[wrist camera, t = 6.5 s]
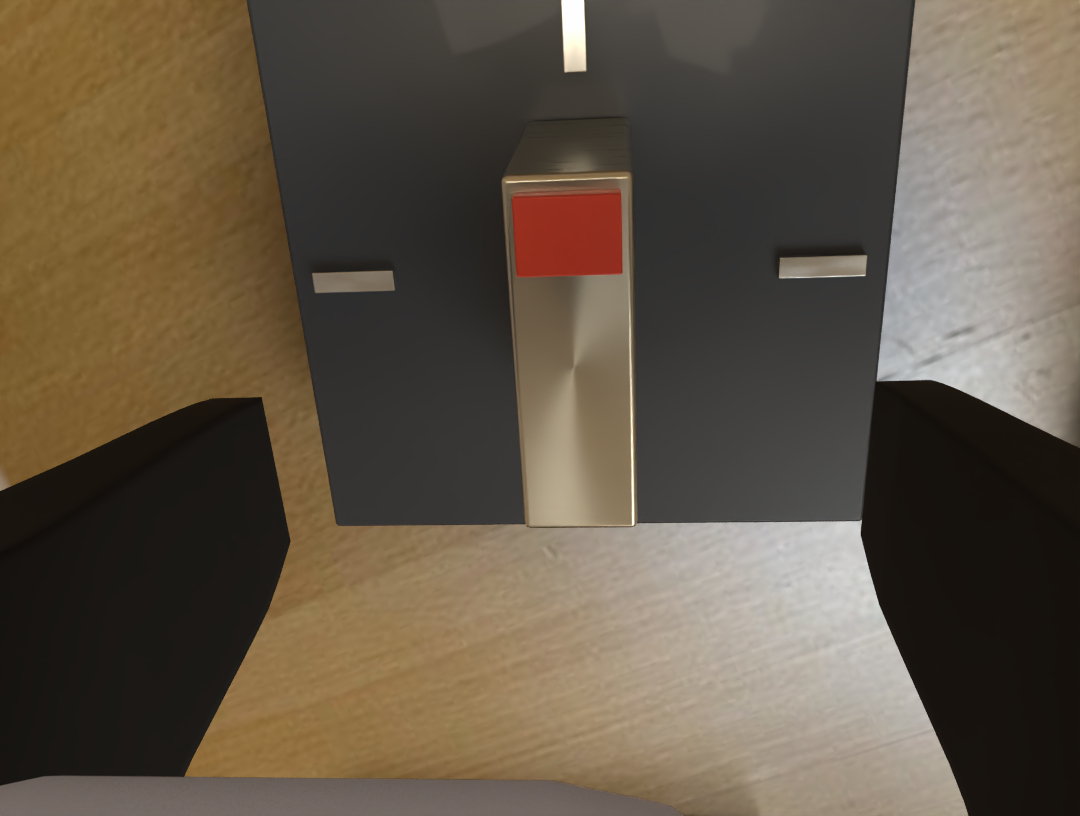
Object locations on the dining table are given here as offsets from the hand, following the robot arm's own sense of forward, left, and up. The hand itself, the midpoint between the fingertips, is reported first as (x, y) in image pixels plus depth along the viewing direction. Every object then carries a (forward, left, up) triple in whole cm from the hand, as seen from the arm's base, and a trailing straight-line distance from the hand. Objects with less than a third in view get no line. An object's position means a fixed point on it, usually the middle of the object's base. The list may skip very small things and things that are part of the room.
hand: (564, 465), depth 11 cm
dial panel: (0, +1, -9) cm, 9 cm away
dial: (0, +1, -6) cm, 6 cm away
